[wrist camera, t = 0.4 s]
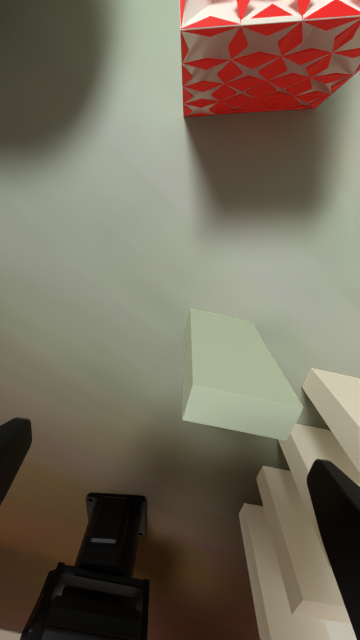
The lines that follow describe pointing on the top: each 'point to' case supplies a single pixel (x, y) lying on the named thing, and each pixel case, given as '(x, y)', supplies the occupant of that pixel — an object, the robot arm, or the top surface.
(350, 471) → the tile
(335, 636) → the white block with post
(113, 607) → the robot arm
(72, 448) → the top surface
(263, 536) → the tile
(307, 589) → the tile
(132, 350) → the top surface
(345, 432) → the tile
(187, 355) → the tile
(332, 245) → the top surface
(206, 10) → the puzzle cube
